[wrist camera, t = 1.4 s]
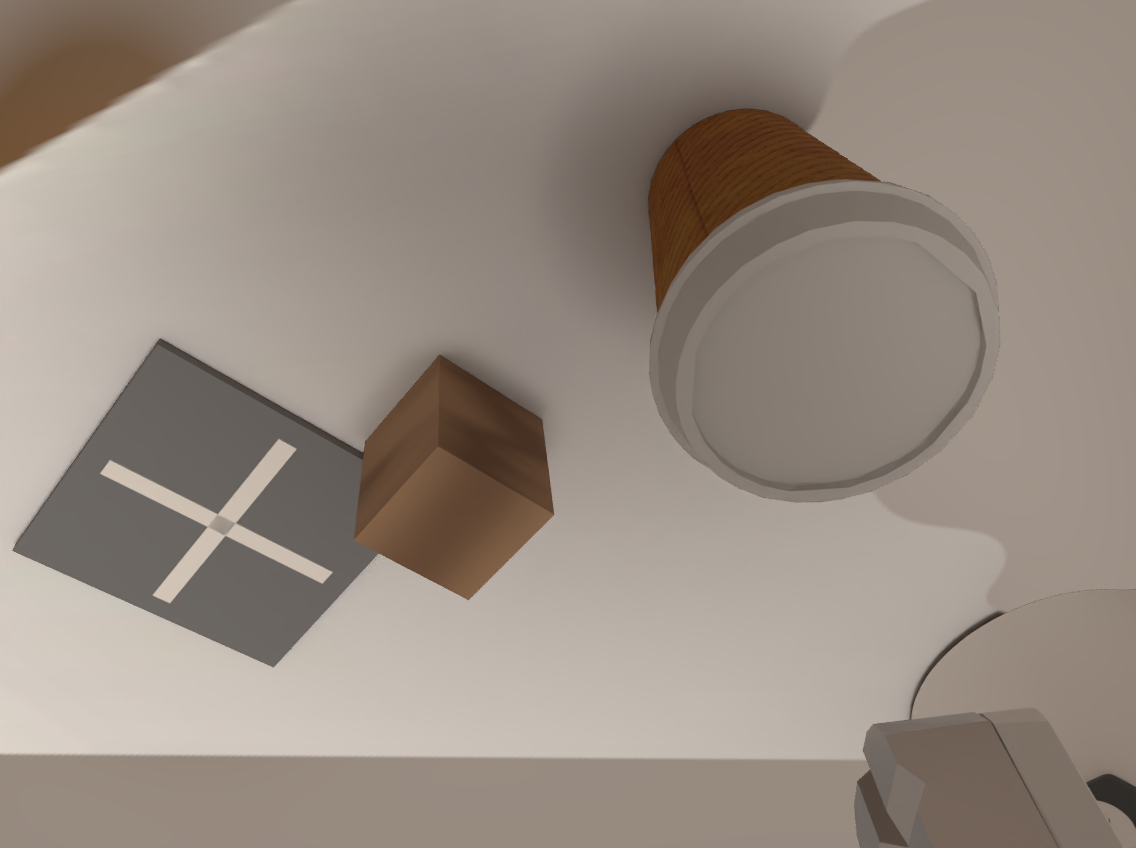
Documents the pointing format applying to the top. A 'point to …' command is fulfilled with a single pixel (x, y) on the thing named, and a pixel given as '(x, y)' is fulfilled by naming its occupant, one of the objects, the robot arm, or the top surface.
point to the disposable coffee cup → (810, 313)
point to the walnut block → (453, 480)
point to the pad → (207, 509)
